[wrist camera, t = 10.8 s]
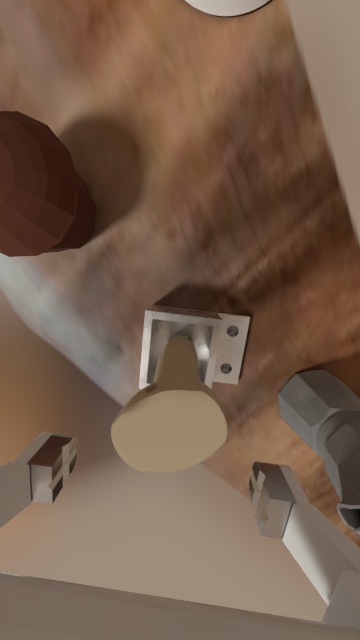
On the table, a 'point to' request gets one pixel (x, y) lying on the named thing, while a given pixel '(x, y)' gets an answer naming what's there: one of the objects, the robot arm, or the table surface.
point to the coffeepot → (328, 432)
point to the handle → (171, 416)
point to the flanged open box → (195, 341)
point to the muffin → (39, 191)
